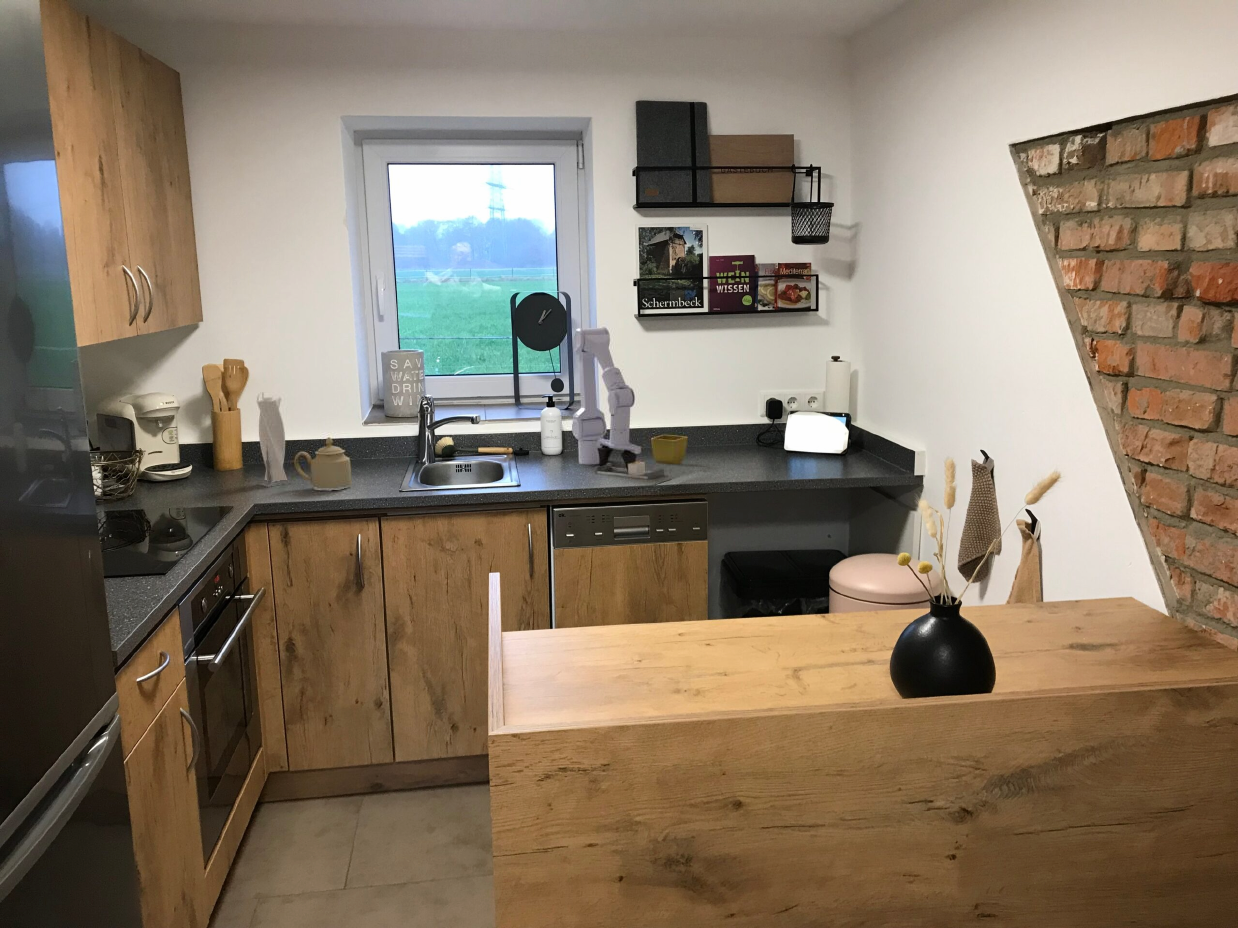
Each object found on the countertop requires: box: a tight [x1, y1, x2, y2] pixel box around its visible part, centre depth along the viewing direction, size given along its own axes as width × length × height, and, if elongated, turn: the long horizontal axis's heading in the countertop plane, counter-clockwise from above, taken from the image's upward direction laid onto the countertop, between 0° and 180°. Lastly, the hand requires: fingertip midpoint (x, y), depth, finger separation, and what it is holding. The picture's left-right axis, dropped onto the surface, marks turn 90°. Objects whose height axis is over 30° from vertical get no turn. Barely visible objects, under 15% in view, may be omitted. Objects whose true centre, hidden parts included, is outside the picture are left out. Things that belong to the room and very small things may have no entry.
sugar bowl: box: [294, 436, 352, 488], centre depth 282 cm, size 15×11×15 cm
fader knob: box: [628, 461, 646, 476], centre depth 285 cm, size 4×3×4 cm
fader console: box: [594, 462, 672, 486], centre depth 287 cm, size 9×24×3 cm, turn 55°
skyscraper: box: [256, 391, 288, 484], centre depth 290 cm, size 8×8×28 cm
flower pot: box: [650, 434, 689, 466], centre depth 306 cm, size 9×9×9 cm
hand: (617, 473), depth 289 cm, fingers closed, pressing on fader console
